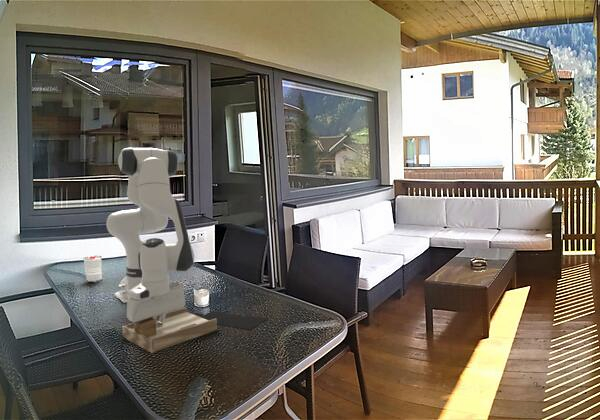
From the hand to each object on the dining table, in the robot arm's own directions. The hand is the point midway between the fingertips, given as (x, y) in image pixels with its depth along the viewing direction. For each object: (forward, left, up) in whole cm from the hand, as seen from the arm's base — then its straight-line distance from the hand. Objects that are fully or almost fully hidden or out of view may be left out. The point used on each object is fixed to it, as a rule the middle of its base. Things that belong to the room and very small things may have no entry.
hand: (158, 327), depth 160 cm
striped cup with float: (-92, +17, -4) cm, 94 cm away
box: (0, +5, -4) cm, 6 cm away
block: (0, -5, -1) cm, 5 cm away
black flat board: (+3, +26, -4) cm, 26 cm away
